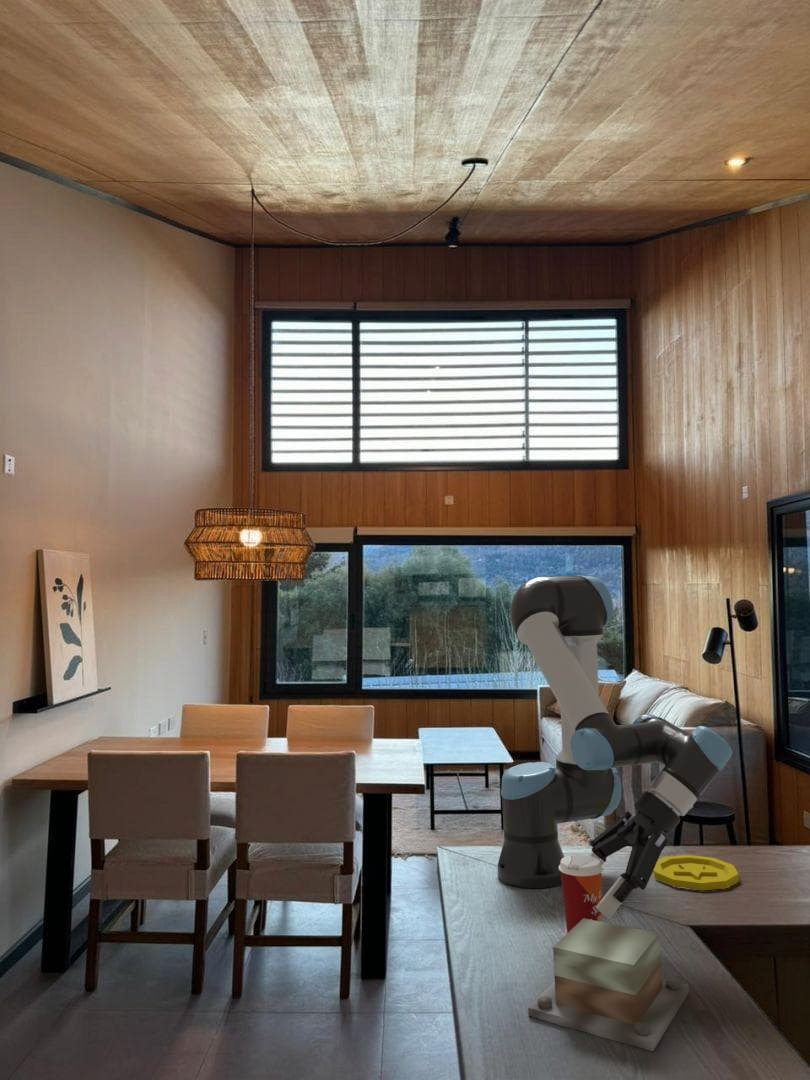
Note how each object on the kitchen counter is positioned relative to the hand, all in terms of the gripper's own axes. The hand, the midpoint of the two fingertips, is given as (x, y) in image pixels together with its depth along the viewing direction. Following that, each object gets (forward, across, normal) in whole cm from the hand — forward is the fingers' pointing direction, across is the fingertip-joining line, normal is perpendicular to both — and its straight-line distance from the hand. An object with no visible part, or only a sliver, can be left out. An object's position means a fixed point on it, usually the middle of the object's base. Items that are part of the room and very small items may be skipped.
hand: (587, 898), depth 139 cm
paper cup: (+6, +1, -5) cm, 8 cm away
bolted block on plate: (+8, -20, -3) cm, 22 cm away
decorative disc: (-17, +28, -29) cm, 44 cm away
